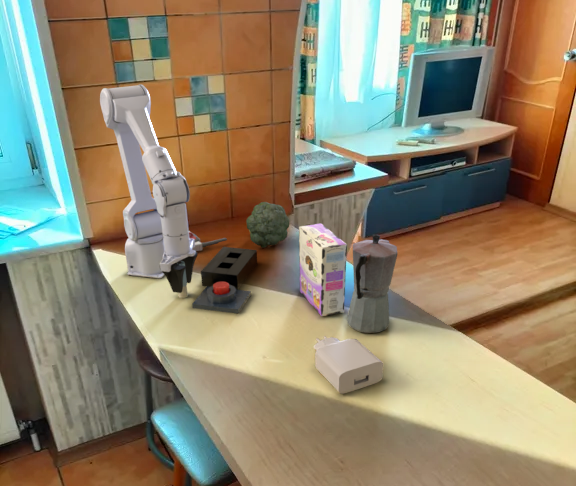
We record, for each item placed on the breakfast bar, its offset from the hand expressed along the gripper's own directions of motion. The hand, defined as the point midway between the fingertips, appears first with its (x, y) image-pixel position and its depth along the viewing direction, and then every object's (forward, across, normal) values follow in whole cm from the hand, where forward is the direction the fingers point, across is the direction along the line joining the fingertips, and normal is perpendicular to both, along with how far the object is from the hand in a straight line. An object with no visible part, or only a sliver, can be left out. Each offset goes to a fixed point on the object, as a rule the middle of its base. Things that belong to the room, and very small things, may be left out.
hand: (182, 287), depth 137 cm
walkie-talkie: (+3, +27, +10) cm, 29 cm away
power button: (0, -1, -10) cm, 10 cm away
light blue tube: (+2, 0, 0) cm, 2 cm away
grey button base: (+2, 0, -10) cm, 10 cm away
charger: (+3, -20, -41) cm, 46 cm away
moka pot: (+3, -3, -44) cm, 44 cm away
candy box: (+3, +5, -32) cm, 32 cm away
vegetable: (+3, +36, -9) cm, 37 cm away
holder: (+2, +14, -7) cm, 15 cm away
